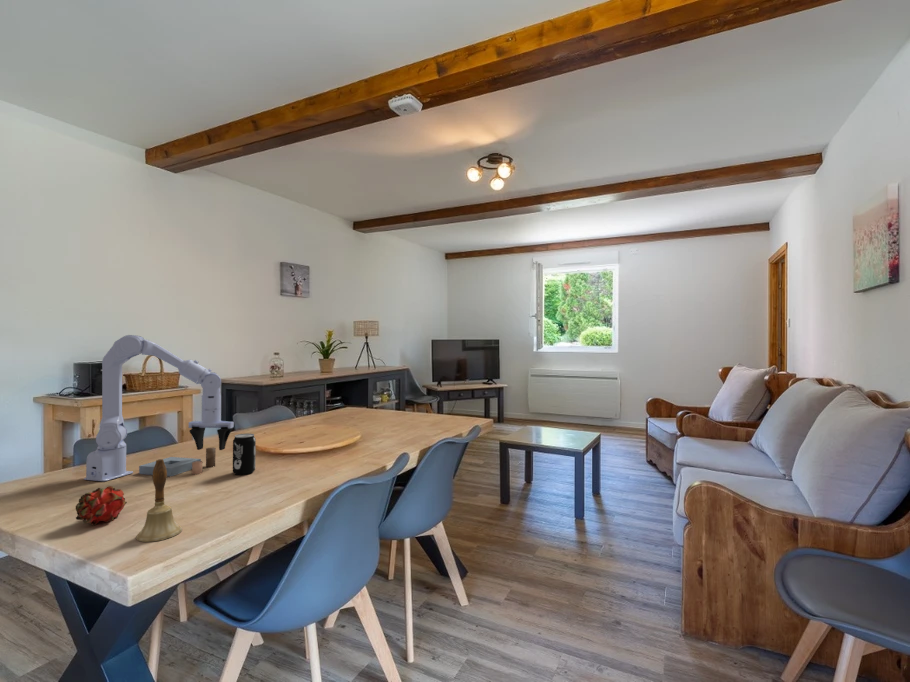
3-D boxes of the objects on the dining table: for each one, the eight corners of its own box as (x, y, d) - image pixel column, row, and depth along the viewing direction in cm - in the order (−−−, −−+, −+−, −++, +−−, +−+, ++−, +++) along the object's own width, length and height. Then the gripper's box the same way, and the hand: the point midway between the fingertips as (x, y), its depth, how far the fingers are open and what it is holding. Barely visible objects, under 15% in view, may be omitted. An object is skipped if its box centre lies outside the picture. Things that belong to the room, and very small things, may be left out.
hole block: (170, 476, 140) (171, 468, 140) (139, 473, 143) (139, 465, 143) (200, 466, 152) (200, 458, 152) (170, 464, 154) (170, 456, 154)
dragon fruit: (72, 540, 98) (117, 526, 110) (106, 516, 98) (146, 505, 110) (55, 506, 99) (101, 496, 111) (88, 483, 100) (130, 475, 111)
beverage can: (227, 474, 142) (228, 436, 142) (242, 469, 149) (242, 432, 149) (245, 476, 141) (246, 437, 141) (259, 470, 147) (260, 433, 147)
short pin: (197, 474, 142) (197, 463, 142) (189, 474, 143) (190, 463, 143) (204, 472, 145) (204, 461, 145) (196, 471, 145) (197, 460, 146)
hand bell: (125, 540, 94) (127, 463, 94) (158, 525, 102) (158, 454, 103) (161, 543, 93) (162, 465, 93) (190, 527, 101) (191, 456, 101)
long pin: (211, 467, 150) (211, 449, 150) (203, 467, 151) (204, 449, 151) (217, 465, 153) (217, 447, 153) (210, 464, 154) (210, 447, 154)
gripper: (238, 407, 156) (238, 446, 156) (197, 407, 157) (197, 446, 156) (227, 410, 149) (227, 451, 149) (184, 410, 150) (184, 451, 149)
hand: (211, 449), depth 152 cm, fingers open, 7 cm apart
